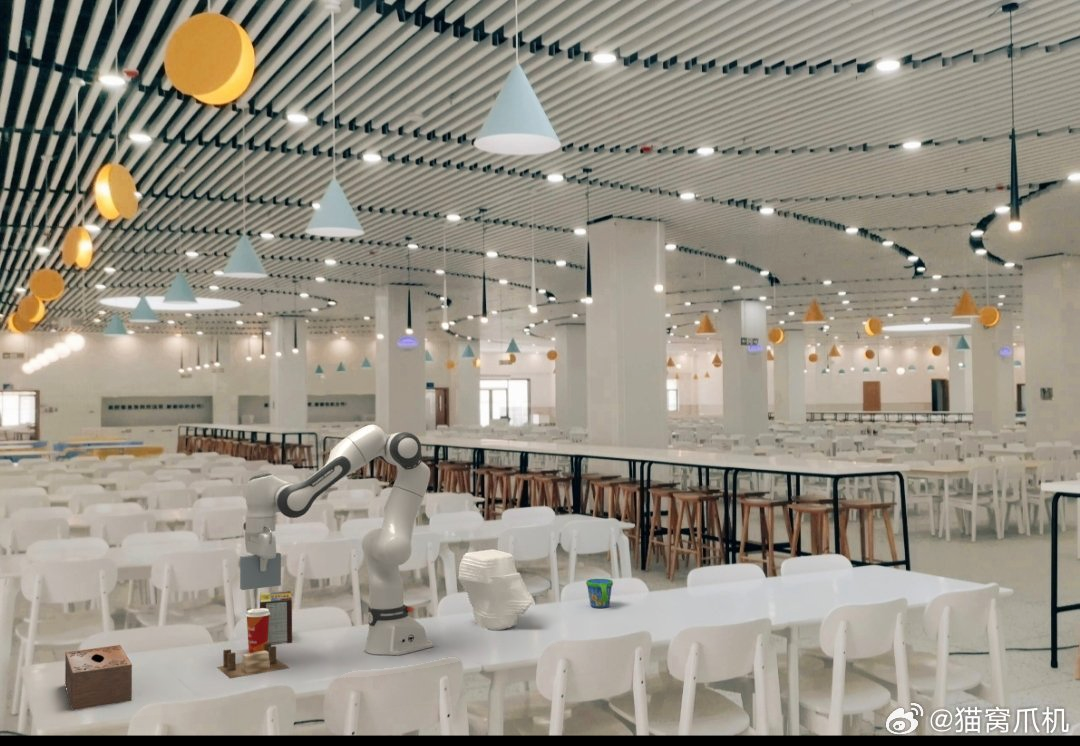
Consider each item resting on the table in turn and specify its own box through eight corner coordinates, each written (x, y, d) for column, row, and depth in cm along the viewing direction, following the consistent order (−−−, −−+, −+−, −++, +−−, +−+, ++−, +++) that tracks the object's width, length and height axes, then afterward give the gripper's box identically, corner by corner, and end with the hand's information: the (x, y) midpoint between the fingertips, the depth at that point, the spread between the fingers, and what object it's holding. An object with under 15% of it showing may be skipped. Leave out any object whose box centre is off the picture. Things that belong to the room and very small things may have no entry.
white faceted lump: (504, 615, 344) (503, 548, 346) (534, 630, 320) (533, 557, 321) (452, 622, 335) (451, 552, 336) (479, 637, 311) (478, 562, 312)
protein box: (290, 635, 319) (290, 590, 320) (292, 645, 304) (292, 598, 305) (259, 637, 316) (259, 593, 317) (260, 648, 301) (260, 601, 302)
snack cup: (616, 610, 351) (615, 584, 351) (589, 611, 350) (589, 584, 350) (609, 602, 366) (609, 577, 367) (584, 603, 365) (583, 577, 366)
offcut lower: (266, 666, 275) (266, 658, 275) (269, 669, 272) (269, 660, 273) (243, 670, 271) (243, 662, 271) (246, 673, 269) (246, 664, 269)
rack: (274, 659, 286) (274, 641, 286) (290, 670, 273) (290, 651, 274) (216, 669, 276) (216, 650, 276) (229, 681, 263) (229, 661, 264)
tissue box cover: (65, 687, 261) (65, 652, 261) (119, 678, 268) (119, 644, 269) (72, 711, 239) (72, 673, 239) (131, 701, 247) (131, 664, 247)
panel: (278, 584, 287) (278, 552, 287) (280, 585, 285) (280, 553, 285) (240, 588, 280) (240, 556, 281) (242, 590, 278) (242, 557, 279)
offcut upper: (265, 658, 275) (264, 650, 275) (268, 660, 273) (268, 652, 273) (242, 662, 271) (242, 654, 271) (246, 664, 268) (246, 656, 268)
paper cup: (244, 652, 296) (244, 609, 297) (268, 649, 299) (268, 607, 300) (246, 658, 289) (246, 613, 289) (271, 655, 292) (271, 611, 292)
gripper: (281, 528, 277) (281, 573, 276) (261, 522, 293) (261, 565, 293) (260, 529, 273) (260, 575, 272) (241, 523, 290) (241, 567, 289)
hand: (260, 570), depth 283 cm, fingers closed on panel, 2 cm apart
